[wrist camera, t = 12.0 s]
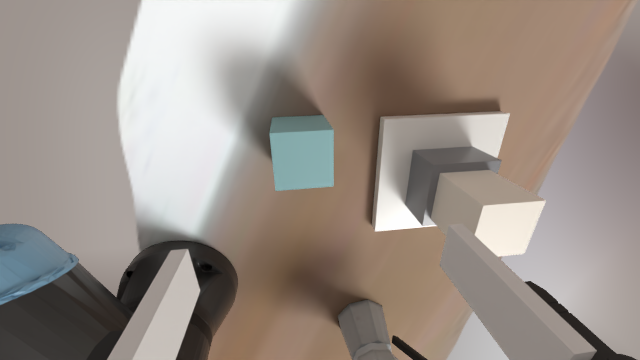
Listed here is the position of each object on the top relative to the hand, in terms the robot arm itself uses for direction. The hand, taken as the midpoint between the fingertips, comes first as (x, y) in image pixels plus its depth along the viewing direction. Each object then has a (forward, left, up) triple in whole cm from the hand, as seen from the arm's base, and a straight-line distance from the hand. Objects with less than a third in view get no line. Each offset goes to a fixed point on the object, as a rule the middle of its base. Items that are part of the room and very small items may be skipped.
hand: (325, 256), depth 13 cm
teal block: (0, 0, -21) cm, 21 cm away
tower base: (+18, -6, -21) cm, 28 cm away
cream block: (+18, -6, -14) cm, 23 cm away
